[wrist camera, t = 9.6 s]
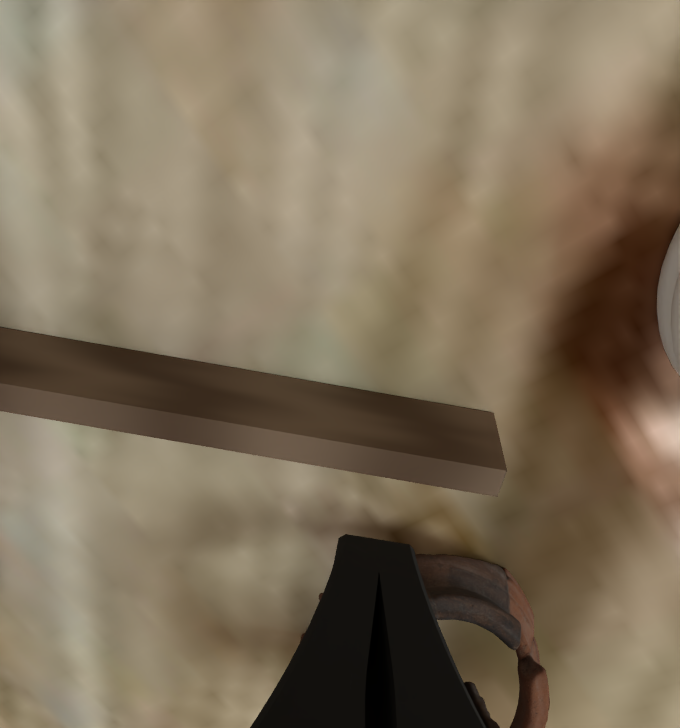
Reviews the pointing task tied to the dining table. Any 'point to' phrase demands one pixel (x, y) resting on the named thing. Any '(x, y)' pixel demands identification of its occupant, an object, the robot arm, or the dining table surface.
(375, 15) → the dining table surface
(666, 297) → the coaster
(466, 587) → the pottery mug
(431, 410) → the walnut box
